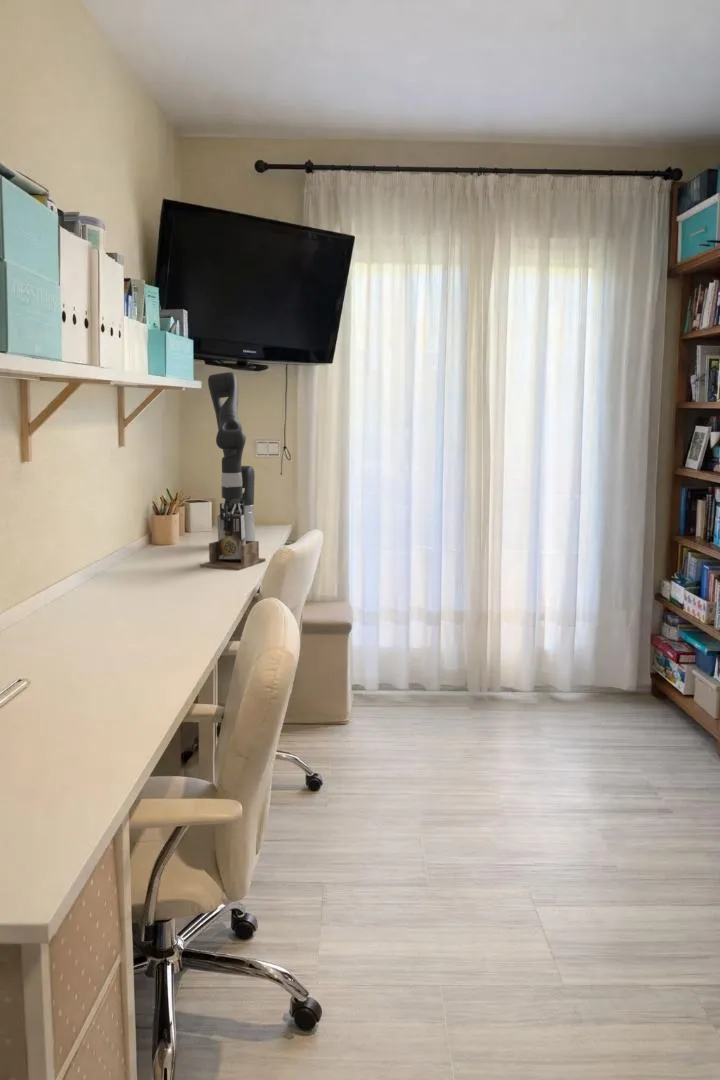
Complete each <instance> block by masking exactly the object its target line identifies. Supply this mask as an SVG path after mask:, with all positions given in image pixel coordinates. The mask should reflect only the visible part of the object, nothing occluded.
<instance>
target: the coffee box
mask: <svg viewBox="0 0 720 1080" xmlns="http://www.w3.org/2000/svg"><path fill="white" fill-rule="evenodd" d="M223 516H224V514H223ZM216 518H217V541H218V549H219V559H241V545H244V544H246V540H245V514H233V515H232V516H231V519H230V522H231V531H225V530H224V521H223V520H221V519H220V514H219V515H217V516H216Z"/></svg>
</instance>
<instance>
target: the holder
mask: <svg viewBox="0 0 720 1080" xmlns="http://www.w3.org/2000/svg"><path fill="white" fill-rule="evenodd" d="M259 545H260V544H259V540H255V541H246V544H244V545H241V559H219V549H218V540H216V541H213V542H210V543H208V553H209V554H208V559H209V561H207V562H204V563H201V564H200V566H199V567H200V568H205V567H206V568H209V569H219V568H220V570H233V571H240V570H244V569H246V568H250V567H253V566H255V565H258V564H261V563H264V562H266V558H265V557H263V558H262V557H260V552H259V551H260V550H259V549H260V547H259Z"/></svg>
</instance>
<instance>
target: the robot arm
mask: <svg viewBox="0 0 720 1080" xmlns="http://www.w3.org/2000/svg"><path fill="white" fill-rule="evenodd" d="M238 382H239V381H238V379H237V375H236V374H235V373H234V372H231V371H229V372H222V373H213V374H210V375H209V376H208V377H207V384H208V390H209V394H210V397H211V402H212V404H213V405H212V406H213V408H214V412H215V418H216V424H217V430H218V431H217V433H216V436H215V437H216V438H215V443H216V446H217V447H218V448H219V449H220V450H222V454H223V457H222V458H221V479H220V480H221V481H220V482H221V498H222V499H224V503H223V502H221V503H220V504H219V515H220V519H221V520H223V521H224V530H225V531H231V522H230V519H231V516H232V515H233V514H245V540H246V541H256V530H255V529H256V528H255V526H256V522H255V478H256V476H255V475H256V474H255V470H254V468H253V466H251V465H242V459H243V458H242V456H243V452H244V448H245V445H246V439H247V436H246V433H245V432H244V431H243V427H242V423H241V421H240V420H239V416H238V405H239V383H238ZM223 398H227V399H226V400H225V401H224V402H223V401H222V399H223ZM243 490H244V491H243ZM223 514H224V516H223Z"/></svg>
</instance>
